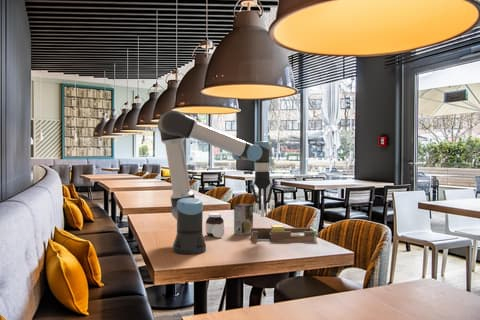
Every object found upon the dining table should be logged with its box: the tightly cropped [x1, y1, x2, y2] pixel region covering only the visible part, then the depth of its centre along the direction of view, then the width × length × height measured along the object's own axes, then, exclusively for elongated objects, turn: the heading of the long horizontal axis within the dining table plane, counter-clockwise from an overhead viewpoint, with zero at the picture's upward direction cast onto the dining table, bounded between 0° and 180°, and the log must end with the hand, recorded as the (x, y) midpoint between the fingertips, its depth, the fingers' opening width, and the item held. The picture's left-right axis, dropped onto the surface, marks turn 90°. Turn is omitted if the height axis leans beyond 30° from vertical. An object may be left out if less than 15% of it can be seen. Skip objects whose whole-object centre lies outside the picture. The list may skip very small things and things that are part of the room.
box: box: [250, 226, 318, 243], centre depth 212 cm, size 10×33×6 cm, turn 93°
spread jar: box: [205, 212, 225, 239], centre depth 219 cm, size 12×11×12 cm
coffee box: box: [233, 203, 254, 236], centre depth 226 cm, size 9×6×16 cm
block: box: [270, 224, 285, 231], centre depth 212 cm, size 5×6×4 cm
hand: (262, 216), depth 212 cm, fingers closed
